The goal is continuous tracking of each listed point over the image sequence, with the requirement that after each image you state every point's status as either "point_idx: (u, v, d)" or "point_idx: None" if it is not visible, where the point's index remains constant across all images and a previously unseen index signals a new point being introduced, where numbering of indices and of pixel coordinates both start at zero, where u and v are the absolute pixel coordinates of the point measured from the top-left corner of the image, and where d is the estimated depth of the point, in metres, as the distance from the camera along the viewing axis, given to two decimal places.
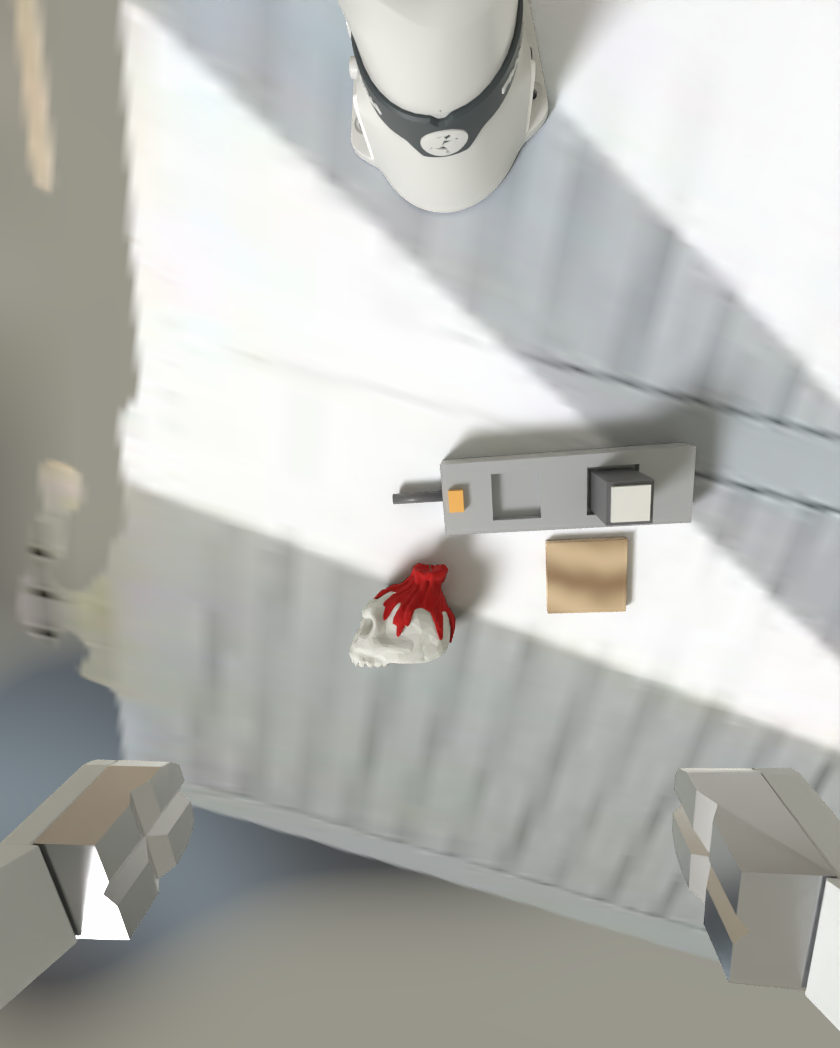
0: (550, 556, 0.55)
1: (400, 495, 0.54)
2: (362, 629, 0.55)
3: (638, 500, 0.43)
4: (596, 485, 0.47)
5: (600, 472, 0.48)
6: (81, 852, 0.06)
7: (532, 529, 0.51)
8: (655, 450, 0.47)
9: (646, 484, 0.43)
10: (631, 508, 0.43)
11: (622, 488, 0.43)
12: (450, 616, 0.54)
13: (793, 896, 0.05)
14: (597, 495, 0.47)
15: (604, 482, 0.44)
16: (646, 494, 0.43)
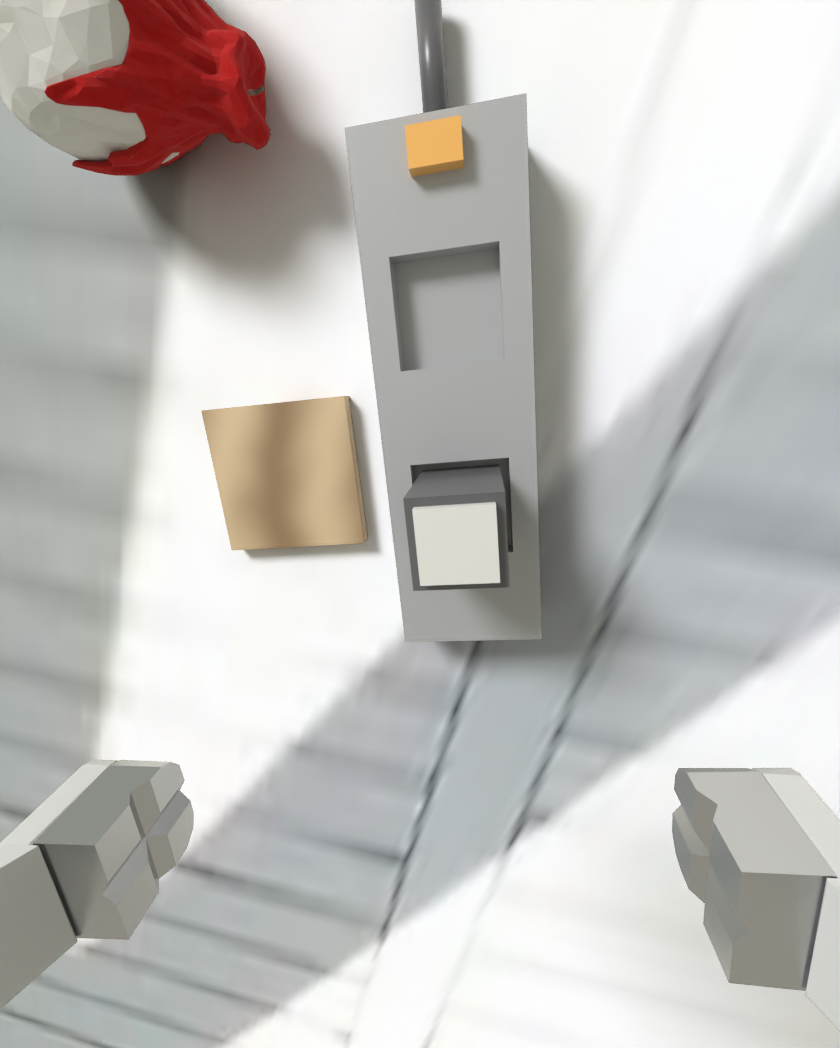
0: (318, 405, 0.27)
1: (437, 0, 0.21)
2: None
3: (465, 560, 0.19)
4: (479, 476, 0.23)
5: None
6: (82, 853, 0.06)
7: (374, 353, 0.23)
8: (537, 576, 0.26)
9: (500, 573, 0.20)
10: (447, 548, 0.19)
11: (492, 525, 0.19)
12: (136, 152, 0.21)
13: (793, 896, 0.05)
14: (459, 479, 0.22)
15: (500, 487, 0.20)
16: (477, 575, 0.20)
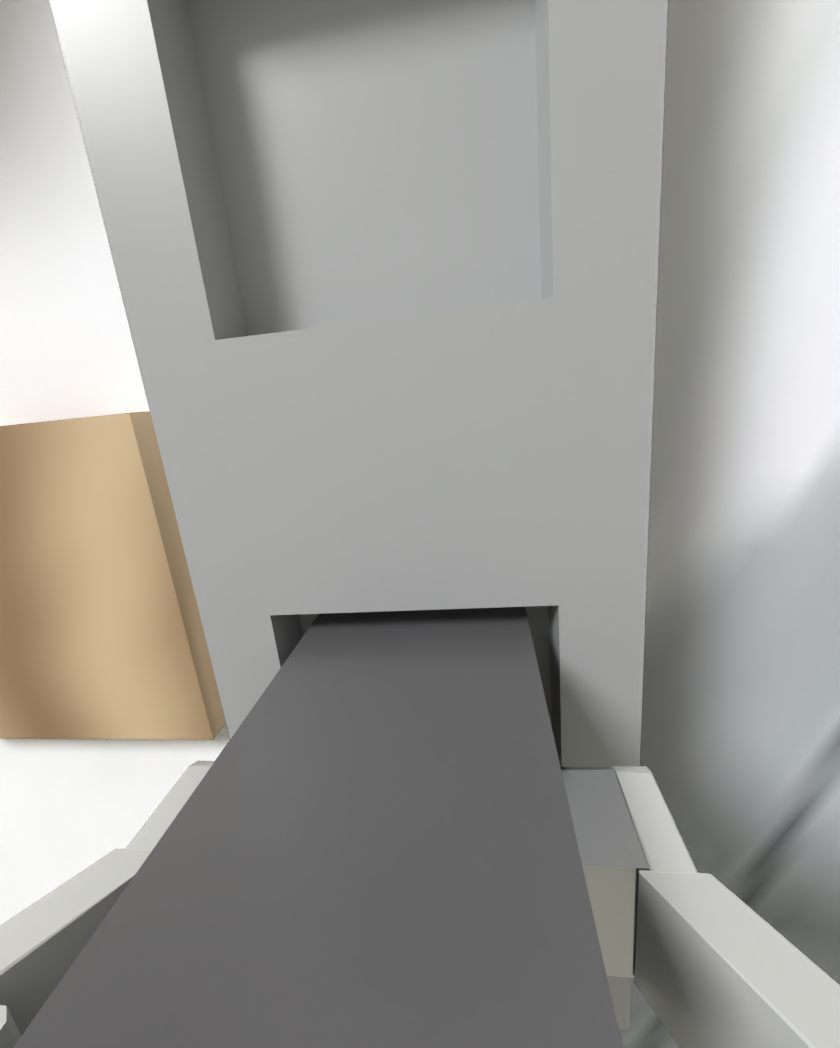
0: (72, 436, 0.11)
1: None
2: None
3: None
4: (468, 705, 0.06)
5: None
6: None
7: (126, 282, 0.07)
8: None
9: None
10: None
11: None
12: None
13: (613, 887, 0.05)
14: (395, 729, 0.06)
15: (586, 979, 0.03)
16: None
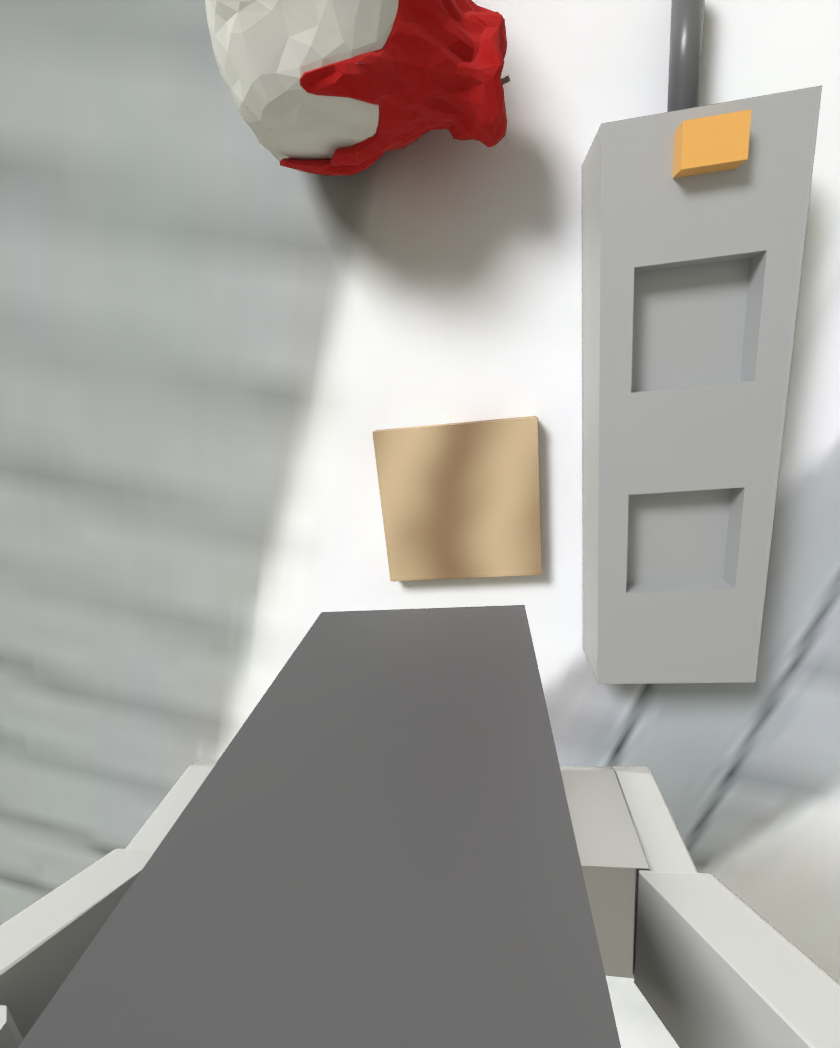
0: (506, 427, 0.25)
1: None
2: None
3: None
4: (468, 709, 0.06)
5: None
6: None
7: (602, 373, 0.21)
8: (760, 615, 0.23)
9: None
10: None
11: None
12: (362, 150, 0.19)
13: (613, 887, 0.05)
14: (395, 733, 0.06)
15: (586, 987, 0.03)
16: None
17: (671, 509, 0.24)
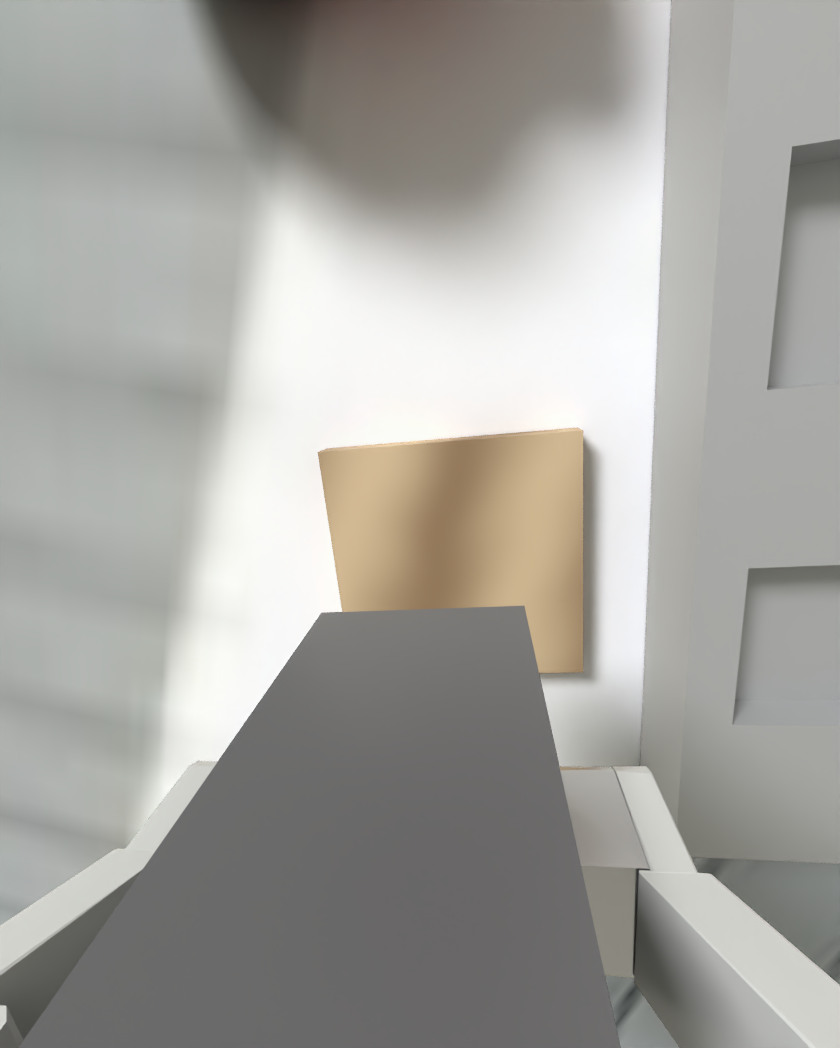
0: (532, 446, 0.15)
1: None
2: None
3: None
4: (468, 710, 0.06)
5: None
6: None
7: (715, 354, 0.12)
8: None
9: None
10: None
11: None
12: None
13: (613, 888, 0.05)
14: (395, 734, 0.06)
15: (586, 989, 0.03)
16: None
17: (811, 588, 0.14)
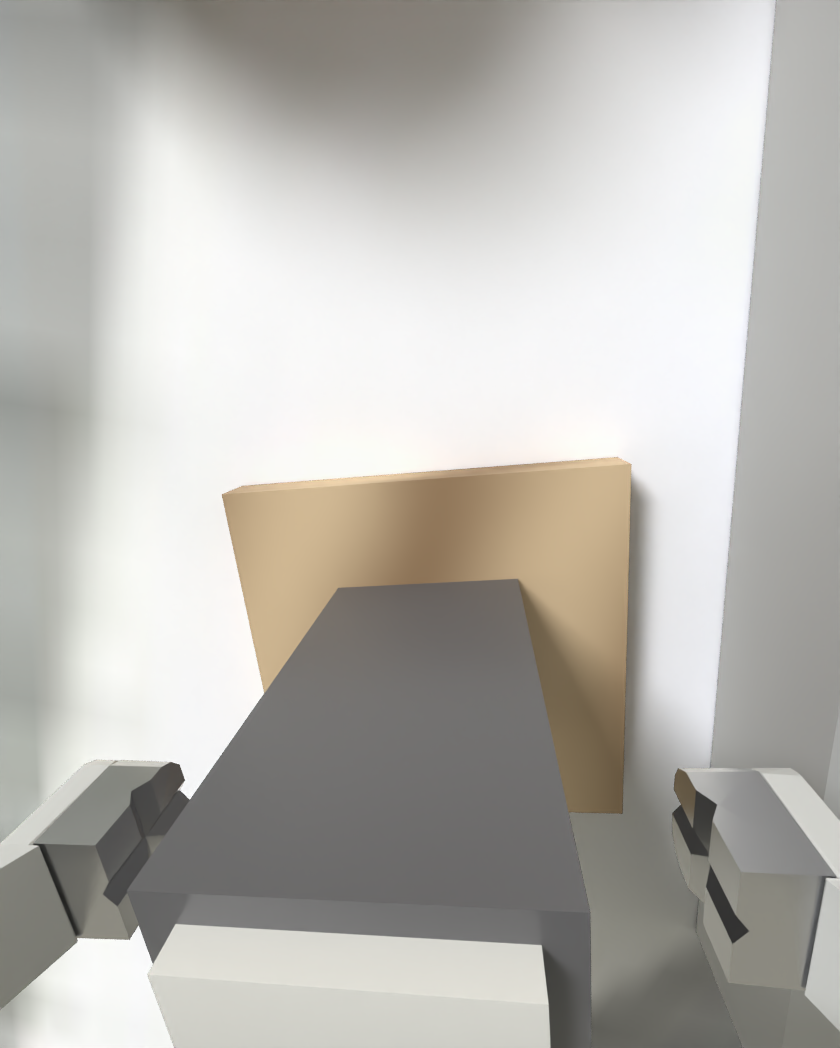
0: (549, 488, 0.10)
1: None
2: None
3: None
4: (468, 656, 0.08)
5: None
6: (82, 852, 0.06)
7: None
8: None
9: None
10: None
11: None
12: None
13: (792, 896, 0.05)
14: (408, 674, 0.07)
15: (555, 824, 0.05)
16: None
17: None
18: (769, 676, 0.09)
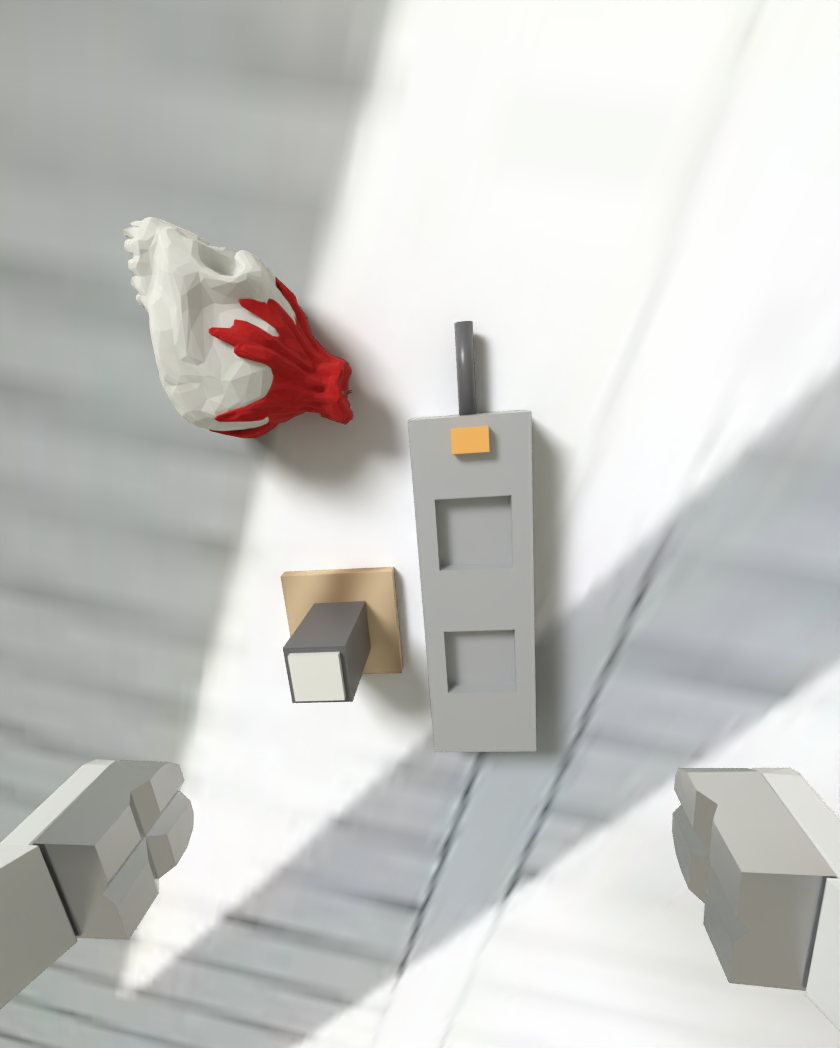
0: (371, 576, 0.37)
1: (471, 336, 0.31)
2: (209, 250, 0.27)
3: (322, 686, 0.31)
4: (343, 619, 0.34)
5: (361, 619, 0.36)
6: (82, 852, 0.06)
7: (420, 558, 0.33)
8: (534, 708, 0.35)
9: (345, 693, 0.31)
10: (310, 679, 0.31)
11: (337, 667, 0.30)
12: (260, 430, 0.31)
13: (793, 896, 0.05)
14: (328, 623, 0.34)
15: (345, 640, 0.31)
16: (330, 695, 0.31)
17: (477, 637, 0.36)
18: None
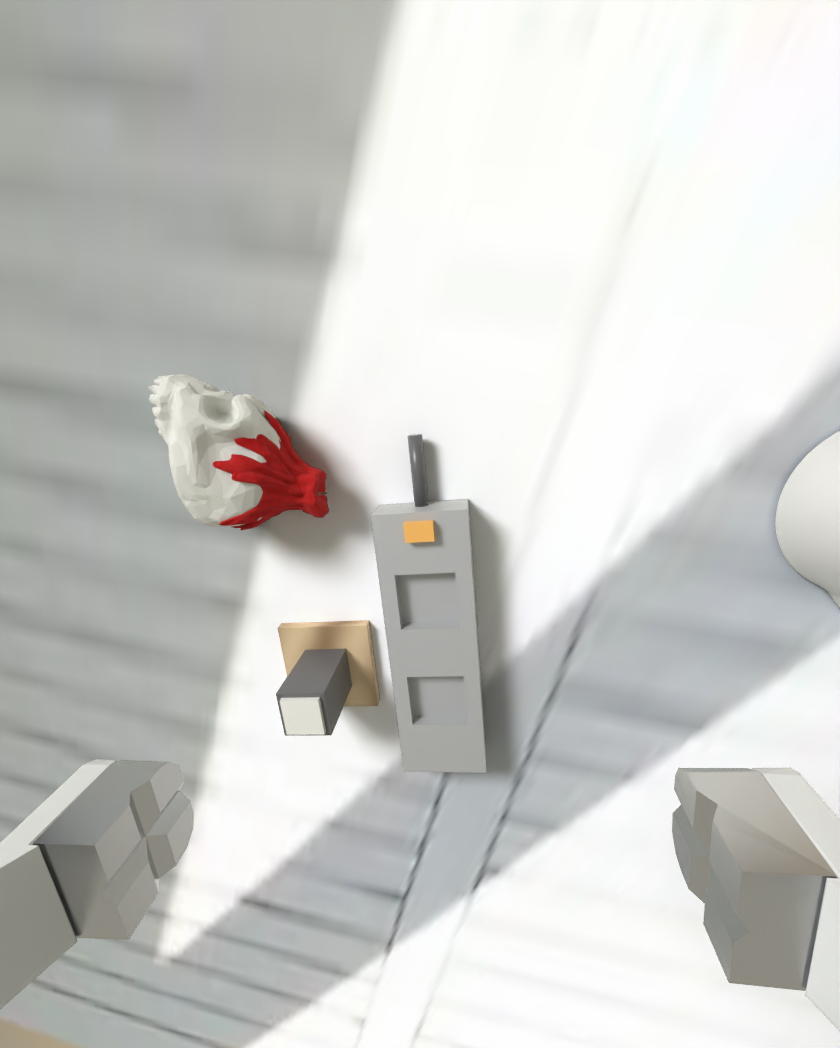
0: (350, 629, 0.45)
1: (420, 446, 0.39)
2: (212, 398, 0.35)
3: (306, 724, 0.39)
4: (325, 667, 0.43)
5: (342, 665, 0.44)
6: (82, 852, 0.06)
7: (385, 620, 0.41)
8: (482, 738, 0.43)
9: (325, 729, 0.40)
10: (297, 718, 0.39)
11: (318, 709, 0.39)
12: (255, 524, 0.39)
13: (793, 896, 0.05)
14: (314, 670, 0.42)
15: (324, 687, 0.40)
16: (313, 730, 0.40)
17: (435, 680, 0.44)
18: None
